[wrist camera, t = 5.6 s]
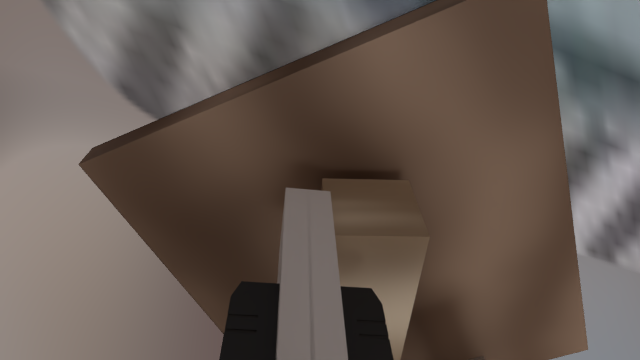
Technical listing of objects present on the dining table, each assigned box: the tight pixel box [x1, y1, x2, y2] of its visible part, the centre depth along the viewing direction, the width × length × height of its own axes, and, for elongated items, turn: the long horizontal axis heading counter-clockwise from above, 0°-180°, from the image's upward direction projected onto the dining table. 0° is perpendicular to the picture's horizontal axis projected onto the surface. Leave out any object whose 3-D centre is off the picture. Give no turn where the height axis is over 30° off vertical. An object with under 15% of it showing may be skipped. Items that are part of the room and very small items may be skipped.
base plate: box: [79, 0, 588, 360], centre depth 19 cm, size 16×19×1 cm
